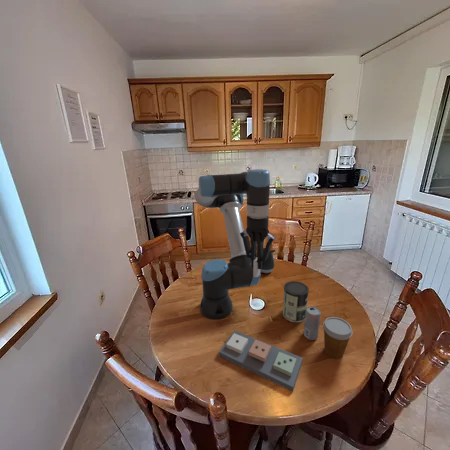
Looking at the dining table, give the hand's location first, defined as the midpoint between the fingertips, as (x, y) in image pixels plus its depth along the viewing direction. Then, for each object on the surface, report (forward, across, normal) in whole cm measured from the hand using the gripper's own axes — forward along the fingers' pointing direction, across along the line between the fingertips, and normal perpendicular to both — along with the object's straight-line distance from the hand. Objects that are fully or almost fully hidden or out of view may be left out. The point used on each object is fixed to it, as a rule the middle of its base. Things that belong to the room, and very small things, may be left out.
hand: (256, 275), depth 90 cm
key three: (+26, +16, -12) cm, 32 cm away
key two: (+24, +7, -12) cm, 28 cm away
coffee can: (+26, +11, +17) cm, 33 cm away
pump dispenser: (+26, -15, +46) cm, 55 cm away
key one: (+26, -2, -12) cm, 28 cm away
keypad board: (+26, +7, -12) cm, 29 cm away
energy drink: (+26, +20, +9) cm, 34 cm away
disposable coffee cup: (+26, +29, +5) cm, 39 cm away
